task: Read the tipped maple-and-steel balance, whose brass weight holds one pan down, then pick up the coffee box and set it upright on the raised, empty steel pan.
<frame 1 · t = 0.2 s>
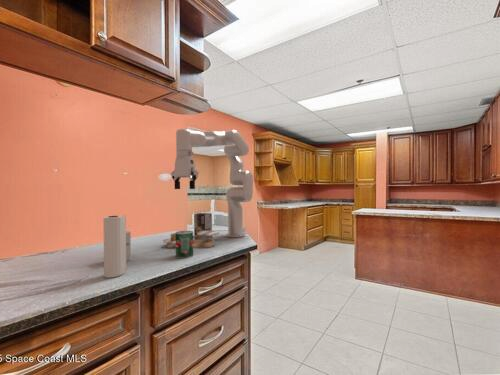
hand: (184, 189, 122), 31 cm above the worktop, tool pointing down, fingers open, 9 cm apart
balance: (191, 245, 134), on the worktop
supplement box: (118, 261, 106), on the worktop
canned tomato: (184, 256, 113), on the worktop
paper towel roll: (115, 275, 89), on the worktop
coffee box: (203, 240, 148), on the worktop
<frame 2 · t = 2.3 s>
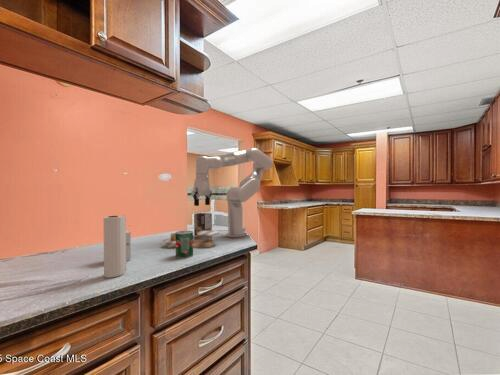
hand: (202, 205, 147), 21 cm above the worktop, tool pointing down, fingers open, 9 cm apart
nothing on the worktop moved.
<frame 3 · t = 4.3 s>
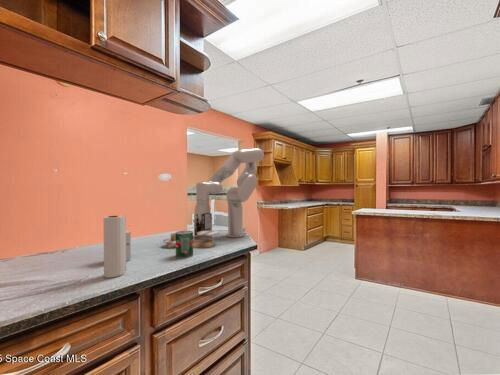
hand: (203, 231, 148), 5 cm above the worktop, tool pointing down, fingers closed on coffee box, 6 cm apart
coffee box: (203, 240, 148), on the worktop, touching gripper
everything else where it was.
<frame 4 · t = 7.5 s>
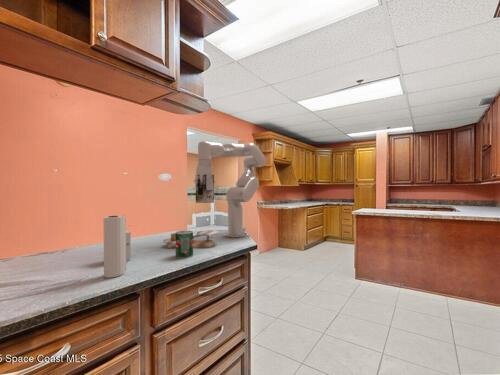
hand: (204, 194, 140), 28 cm above the worktop, tool pointing down, fingers closed on coffee box, 6 cm apart
coffee box: (204, 203, 140), point 23 cm above the worktop, touching gripper
everything else where it was.
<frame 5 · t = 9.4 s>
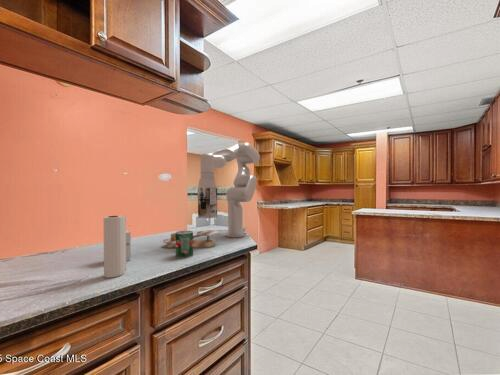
hand: (207, 208, 135), 20 cm above the worktop, tool pointing down, fingers closed on coffee box, 6 cm apart
coffee box: (207, 217, 135), point 15 cm above the worktop, touching gripper
everything else where it was.
when the fingers open (13 cm above the worktop, at t = 11.1 s): coffee box drops 2 cm, resting on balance.
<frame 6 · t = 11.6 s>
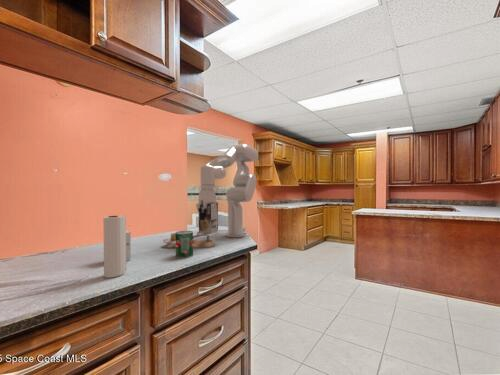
hand: (207, 218, 135), 14 cm above the worktop, tool pointing down, fingers open, 9 cm apart
coffee box: (208, 232, 135), point 7 cm above the worktop, touching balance
everything else where it was.
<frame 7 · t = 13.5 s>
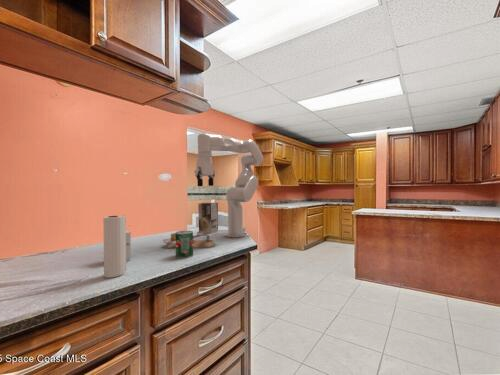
hand: (205, 186, 139), 33 cm above the worktop, tool pointing down, fingers open, 9 cm apart
nothing on the worktop moved.
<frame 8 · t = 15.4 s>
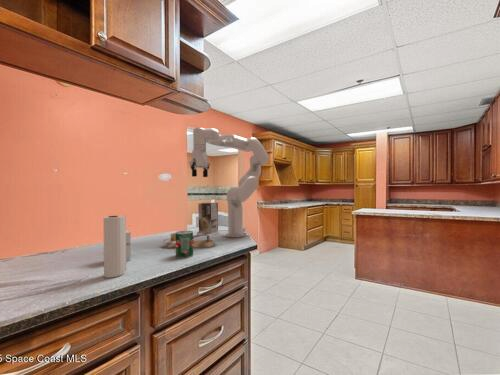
hand: (200, 176, 149), 38 cm above the worktop, tool pointing down, fingers open, 9 cm apart
nothing on the worktop moved.
at the end: coffee box 0.2 cm from the target spot, point 6.8 cm above the worktop; coffee box tilted 0°; the gripper is holding nothing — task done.
